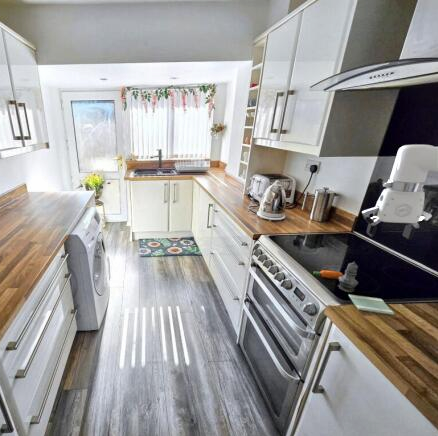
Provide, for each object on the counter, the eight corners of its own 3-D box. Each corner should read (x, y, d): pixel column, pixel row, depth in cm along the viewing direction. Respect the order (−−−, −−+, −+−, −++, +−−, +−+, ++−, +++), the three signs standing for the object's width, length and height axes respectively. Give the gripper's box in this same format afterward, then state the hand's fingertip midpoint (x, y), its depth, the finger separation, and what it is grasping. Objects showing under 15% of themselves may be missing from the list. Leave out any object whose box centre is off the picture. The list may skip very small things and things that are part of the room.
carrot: (346, 277, 100) (348, 271, 99) (350, 282, 97) (352, 275, 96) (312, 273, 104) (313, 267, 103) (314, 277, 101) (315, 271, 100)
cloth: (348, 295, 90) (348, 294, 90) (380, 299, 87) (381, 298, 87) (358, 309, 83) (358, 308, 83) (394, 315, 80) (395, 314, 80)
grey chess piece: (353, 294, 90) (362, 267, 86) (334, 287, 94) (342, 261, 90) (357, 288, 94) (366, 261, 89) (338, 281, 98) (346, 256, 94)
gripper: (376, 188, 73) (362, 239, 79) (451, 189, 68) (430, 243, 74) (364, 183, 80) (351, 230, 86) (431, 184, 75) (413, 234, 81)
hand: (388, 236), depth 80 cm, fingers open, 9 cm apart
